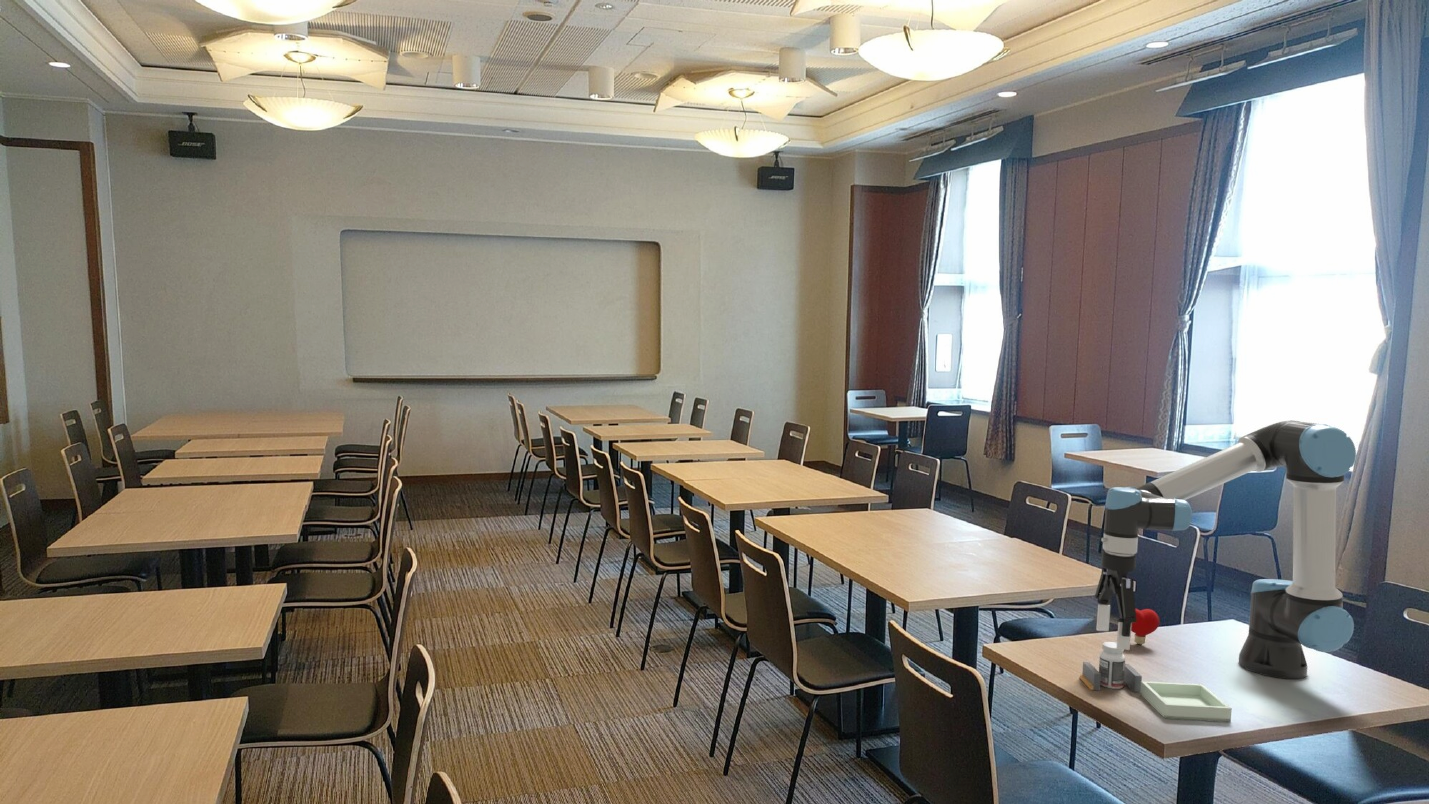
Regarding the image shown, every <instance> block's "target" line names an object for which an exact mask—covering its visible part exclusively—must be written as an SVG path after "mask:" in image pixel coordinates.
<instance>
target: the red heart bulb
mask: <svg viewBox="0 0 1429 804" xmlns="http://www.w3.org/2000/svg"><path fill="white" fill-rule="evenodd" d="M1135 609H1136V619H1137V621H1136V623H1135V622H1133V623H1132V625H1131V633H1134V640H1133V641H1134V643H1135V644H1136V645H1138V646H1142V645H1144V644H1145V643H1146V636H1148V635H1151V634H1152V633H1154V632H1155V631H1157V629H1158V628H1159V625H1160V617H1159V616H1158V613H1156V611H1154V610H1153V609H1150V608H1145V609H1141V610H1140V609H1138V608H1135Z"/></svg>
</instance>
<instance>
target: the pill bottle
mask: <svg viewBox="0 0 1429 804" xmlns="http://www.w3.org/2000/svg"><path fill="white" fill-rule="evenodd" d="M1101 648H1102V651H1101V652H1100V654H1099V660H1098V661H1099V663H1098V664H1099V666H1098V672H1099V673H1100V674H1101V679H1100V686H1102V687H1104V688H1108V689H1111V690H1112V689H1113V690H1119V689H1122V688H1123V687H1124V685H1125V683H1124V675H1125V664H1126V656H1125V655H1124V651H1125V649H1117V642H1116V641H1115V642H1114V641H1104V642H1102V647H1101Z"/></svg>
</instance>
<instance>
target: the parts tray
mask: <svg viewBox="0 0 1429 804" xmlns="http://www.w3.org/2000/svg"><path fill="white" fill-rule="evenodd" d="M1140 696H1142V697H1143V699H1145V700H1146V701H1147V703H1149V704H1150V705H1151V706H1152V707H1153V708H1154V709H1155V710H1156V711H1157V712H1158V713H1159V714H1160V715H1161V716H1162V717H1163V718H1164V719H1165V720H1167V719H1168V720H1169V719H1170V720H1184V721H1186V720H1187V721H1205V722H1220V723H1221V722H1223V723H1231V721H1232V707H1231V706H1229V705H1228V704H1227V703H1226V702H1225V701H1224V700H1222V699H1221V698H1220V697H1219V696H1217V695H1216V694H1215V693H1214V692H1212V691H1211V690H1210V689H1208V688H1207V687H1206V686H1205V685H1204V684H1200V683H1199V684H1198V683H1183V682H1163V681H1161V682H1160V681H1141V691H1140Z"/></svg>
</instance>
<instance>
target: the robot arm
mask: <svg viewBox="0 0 1429 804" xmlns="http://www.w3.org/2000/svg"><path fill="white" fill-rule="evenodd" d="M1355 446H1356V445H1355V444H1354V441H1353V439H1352V437H1350V436H1349V435H1348V434H1347V433H1346V432H1345V431H1344V430H1342V429H1340V428H1337V427H1335V426H1331V425H1328V424H1325V423H1315V422H1314V423H1313V422H1304V421H1299V420H1284V421H1283V420H1282V421H1279V422H1276V423H1272V424H1269V425H1267V426H1264V427H1261V428H1259V429H1257V430H1254V431H1252V432H1250V433H1248V434H1245V435H1243V436H1241V437H1239V438H1238V439H1237V443H1235V444H1233V445H1231V446H1229V447H1226V448H1224V449H1222V450H1220V451H1218V452H1216V453H1212V454H1211V455H1209V456H1208V455H1207V456H1206V457H1204V458H1201V459H1200V460H1197V461H1195V462H1192V463H1191V464H1188V465H1185V466H1184V467H1181V468H1179V469H1177V470H1175V471H1173V472H1170V473H1168V474H1166V475H1164V476H1162V477H1160V478H1157V479H1154V480H1152V481H1149V482H1147V483H1144V484H1143V485H1140V486H1137V487H1136V486H1126V487H1120V486H1117V487H1116V486H1115V487H1114V486H1113V487H1110V488H1109V489H1108V491H1107V493H1106V499H1105V504H1104V508H1105V511H1104V512H1105V513H1104V525H1103V526H1104V527H1103V528H1104V530H1103V537H1101V542H1102V549H1103V551H1102V552H1101V560H1100V561H1101V562H1100V565H1101V575H1100V578H1099V581H1098V584H1097V587H1096V590H1095V594H1094V598H1095V599H1096V600H1097V604H1098V605H1097V616H1096V627H1095V628H1096V629H1095V630H1096V631H1098V632H1109V628H1110V616H1111V605H1112V604H1113V603H1112V599H1113V596H1115V597H1116V602H1117V609H1118V613H1119V618H1118V619H1117V622H1118V625H1117V637H1116V638H1117V639H1116V643H1117V649H1124V651H1125V650H1127V651H1129V650H1131V649H1130V648H1131V633H1132V631H1131V625H1132V623H1133V622H1135V623H1136V621H1137V619H1136V609H1137V608H1136V601H1135V593H1134V587H1135V586H1134V584H1135V580H1134V579H1132V578H1131V579H1130V578H1129V576H1128V575H1129V573H1132V572H1134V571H1135V570H1136V565H1137V556H1136V554H1137V553H1138V543H1139V530H1153V531H1154V530H1156V531H1157V530H1159V531H1171V532H1175V531H1186V530H1187V529H1188V528H1189V527H1191V523H1192V520H1193V510H1192V507H1191V505H1190V503H1189V502H1188V501H1187V500H1190V498H1194V497H1196V496H1198V495H1201V494H1202V493H1205V492H1206V491H1209V490H1211V489H1214V488H1216V487H1219V486H1221V485H1223V484H1225V483H1227V482H1230V481H1233V480H1235V479H1237V478H1239V477H1241V476H1243V475H1246V474H1248V473H1250V472H1253V471H1254V472H1257V473H1261V472H1263V471H1266V470H1268V469H1272V468H1280V467H1285V468H1286V469H1285V473H1286V474H1285V479H1286V481H1287V482H1288V483H1290V484H1291V485H1292V486H1293V507H1292V508H1293V509H1292V511H1293V517H1292V518H1293V520H1292V522H1293V523H1292V529H1293V531H1292V535H1293V536H1292V542H1293V543H1292V580H1289V579H1288V580H1287V579H1278V578H1277V579H1275V578H1264V579H1263V578H1261V579H1256V580H1255V581H1253V582H1252V587H1251V591H1250V609H1249V621H1248V624H1249V625H1248V635H1247V636H1246V640H1245V641H1244V643H1243V645H1242V647H1241V650H1240V652H1239V654H1238V664H1239V665H1240V666H1241V667H1243V668H1245V669H1246V670H1248V671H1251V672H1253V673H1256V674H1258V675H1259V674H1260V675H1262V676H1263V675H1264V676H1267V677H1273V678H1278V679H1287V680H1291V679H1294V680H1296V679H1297V680H1298V679H1303V678H1305V677H1307V675H1308V663H1307V660H1306V656H1305V652H1304V650H1303V647H1305V648H1308V649H1311V650H1315V651H1317V652H1321V653H1329V652H1330V653H1331V652H1335V651H1337V650H1339V649H1341V648H1343V646H1344V645H1346V644H1347V643H1348V642H1349V641H1350V640H1351V638H1352V636H1353V633H1354V630H1355V629H1354V628H1355V624H1354V623H1355V622H1354V619H1353V617H1352V616H1351V614H1350V613H1349V612H1348V611H1347V610H1346V609H1344V608H1343V607H1344V606H1343V605H1344V603H1343V602H1344V601H1343V597H1344V596H1343V595H1344V594H1343V593H1342V592H1341V591H1340V590H1339V589H1338V588H1337V587H1336V551H1337V550H1336V549H1337V548H1336V543H1337V542H1336V541H1337V540H1336V538H1337V531H1336V530H1337V488H1338V487H1339V486H1341V485H1342V484H1343V483H1344V482H1345V474H1347V473H1348V472H1350V468H1352V467H1353V466H1354V465H1355V462H1356V458H1357V457H1356V456H1357V451H1356V447H1355ZM1302 646H1303V647H1302Z"/></svg>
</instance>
